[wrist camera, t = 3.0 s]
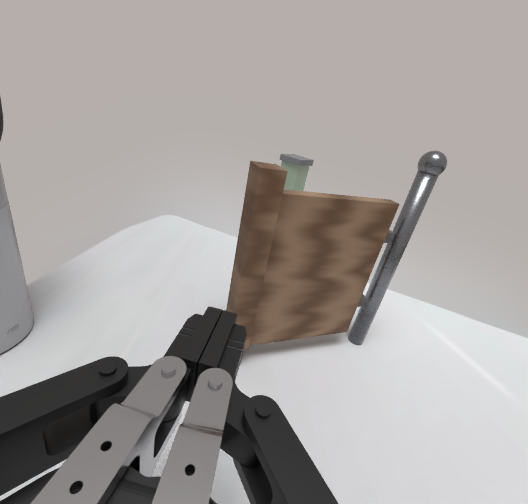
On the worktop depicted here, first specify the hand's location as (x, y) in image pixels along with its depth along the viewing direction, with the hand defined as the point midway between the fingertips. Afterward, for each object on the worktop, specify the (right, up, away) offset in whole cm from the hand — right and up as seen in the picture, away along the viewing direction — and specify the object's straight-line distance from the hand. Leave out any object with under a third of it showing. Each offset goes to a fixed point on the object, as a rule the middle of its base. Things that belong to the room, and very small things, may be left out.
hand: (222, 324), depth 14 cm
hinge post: (+15, -9, +26) cm, 31 cm away
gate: (+5, -8, +21) cm, 24 cm away
